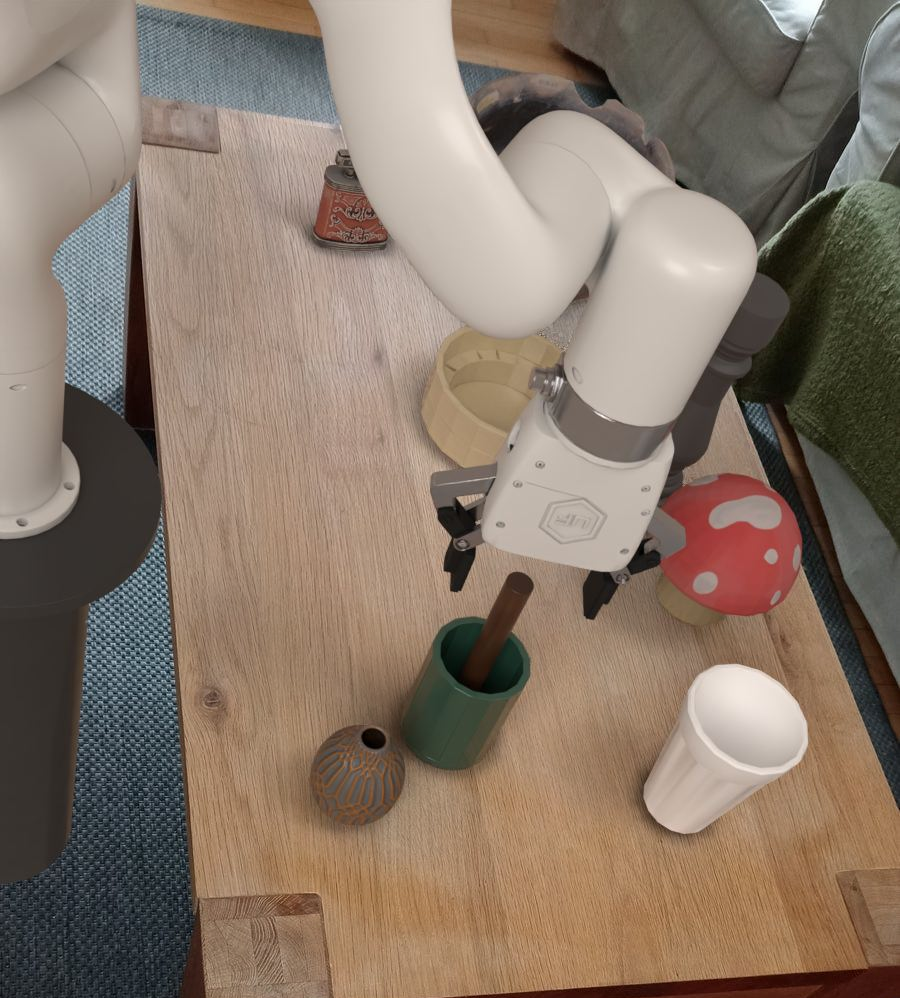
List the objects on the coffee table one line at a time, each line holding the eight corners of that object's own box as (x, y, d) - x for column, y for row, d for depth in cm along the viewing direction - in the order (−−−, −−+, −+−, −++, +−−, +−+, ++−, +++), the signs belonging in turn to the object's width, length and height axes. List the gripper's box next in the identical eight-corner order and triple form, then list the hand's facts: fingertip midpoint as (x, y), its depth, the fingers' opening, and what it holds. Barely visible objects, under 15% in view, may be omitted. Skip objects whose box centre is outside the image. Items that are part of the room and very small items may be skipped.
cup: (690, 879, 105) (768, 798, 94) (597, 796, 106) (663, 707, 96) (752, 809, 110) (832, 725, 100) (662, 731, 112) (732, 640, 101)
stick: (435, 732, 104) (506, 590, 89) (436, 712, 105) (506, 568, 90) (459, 737, 105) (534, 596, 90) (460, 716, 106) (534, 574, 91)
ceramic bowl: (650, 275, 145) (710, 153, 133) (574, 375, 133) (633, 250, 120) (480, 174, 145) (524, 42, 133) (388, 263, 133) (427, 128, 121)
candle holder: (677, 515, 126) (807, 306, 106) (637, 540, 123) (764, 330, 102) (632, 473, 127) (752, 258, 107) (592, 496, 124) (708, 280, 104)
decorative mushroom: (641, 675, 114) (718, 565, 102) (594, 556, 120) (661, 438, 108) (769, 667, 119) (857, 561, 107) (718, 553, 125) (796, 439, 113)
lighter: (381, 231, 135) (405, 143, 127) (390, 253, 134) (415, 166, 126) (306, 227, 132) (326, 137, 124) (315, 250, 131) (335, 160, 123)
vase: (284, 803, 98) (306, 740, 91) (335, 745, 102) (360, 680, 95) (359, 856, 97) (388, 797, 90) (408, 795, 101) (438, 734, 94)
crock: (397, 761, 103) (431, 689, 94) (402, 683, 107) (435, 607, 98) (489, 777, 104) (530, 708, 96) (490, 700, 108) (530, 627, 100)
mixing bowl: (416, 467, 120) (434, 419, 115) (422, 355, 128) (439, 306, 123) (572, 503, 123) (596, 458, 118) (569, 392, 131) (591, 346, 126)
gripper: (469, 416, 73) (398, 608, 87) (754, 482, 76) (641, 656, 90) (471, 327, 77) (403, 525, 91) (742, 394, 80) (635, 574, 94)
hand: (522, 590), depth 91 cm, fingers open, 9 cm apart
